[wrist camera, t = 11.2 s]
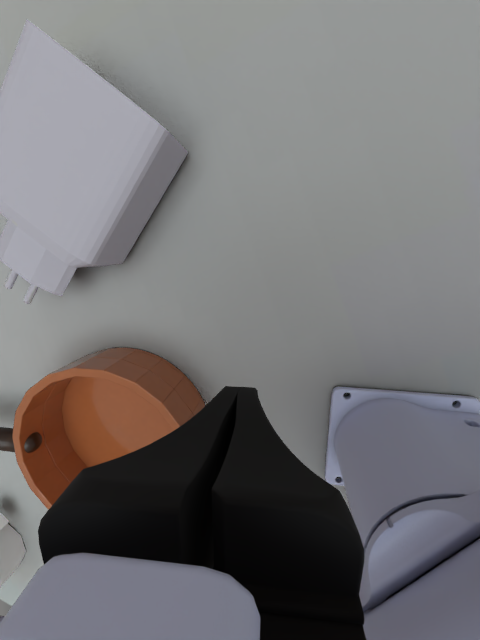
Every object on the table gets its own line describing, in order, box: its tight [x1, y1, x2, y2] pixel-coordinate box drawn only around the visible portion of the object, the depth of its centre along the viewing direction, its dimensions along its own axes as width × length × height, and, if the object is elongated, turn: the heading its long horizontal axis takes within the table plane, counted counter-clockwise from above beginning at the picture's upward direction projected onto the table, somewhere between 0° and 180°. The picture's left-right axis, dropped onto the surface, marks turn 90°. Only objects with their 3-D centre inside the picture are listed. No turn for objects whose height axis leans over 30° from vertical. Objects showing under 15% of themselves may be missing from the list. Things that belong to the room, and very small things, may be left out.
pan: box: [12, 348, 205, 509], centre depth 22 cm, size 14×14×4 cm
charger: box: [0, 20, 188, 304], centre depth 18 cm, size 5×9×15 cm
